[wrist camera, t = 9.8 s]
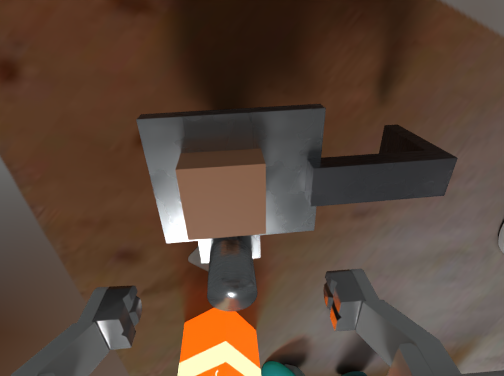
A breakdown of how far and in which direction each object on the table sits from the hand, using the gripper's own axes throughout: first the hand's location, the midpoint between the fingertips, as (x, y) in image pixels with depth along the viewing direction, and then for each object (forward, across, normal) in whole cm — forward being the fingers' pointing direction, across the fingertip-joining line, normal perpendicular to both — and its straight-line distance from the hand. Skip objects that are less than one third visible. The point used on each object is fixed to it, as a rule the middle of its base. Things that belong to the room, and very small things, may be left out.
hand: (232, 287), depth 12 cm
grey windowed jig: (+20, -5, +3) cm, 20 cm away
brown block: (+17, +1, 0) cm, 17 cm away
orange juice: (+19, +4, +31) cm, 37 cm away
